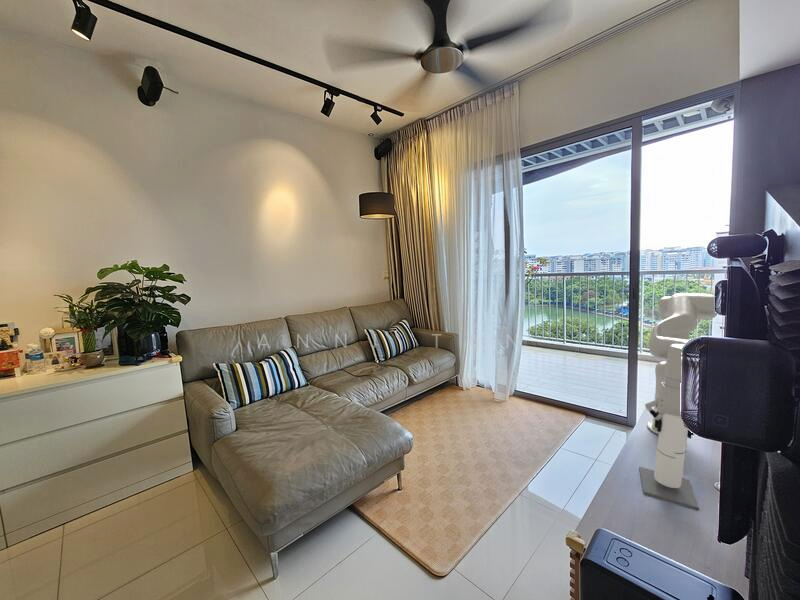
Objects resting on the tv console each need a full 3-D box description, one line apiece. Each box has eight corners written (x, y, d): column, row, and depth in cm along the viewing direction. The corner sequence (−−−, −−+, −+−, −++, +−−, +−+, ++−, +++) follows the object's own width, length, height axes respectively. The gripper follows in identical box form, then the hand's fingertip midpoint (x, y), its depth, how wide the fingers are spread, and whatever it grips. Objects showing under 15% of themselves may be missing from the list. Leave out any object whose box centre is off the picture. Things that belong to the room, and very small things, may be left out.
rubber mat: (639, 468, 121) (639, 466, 121) (688, 481, 114) (688, 479, 114) (643, 493, 109) (643, 491, 109) (698, 509, 102) (699, 507, 102)
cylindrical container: (686, 489, 107) (695, 419, 103) (661, 486, 108) (669, 417, 104) (672, 474, 114) (681, 407, 110) (649, 472, 115) (657, 406, 111)
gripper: (712, 383, 104) (705, 434, 107) (644, 373, 113) (639, 420, 116) (719, 392, 98) (711, 446, 101) (647, 381, 107) (641, 431, 110)
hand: (673, 432), depth 108 cm, fingers closed on cylindrical container, 7 cm apart
